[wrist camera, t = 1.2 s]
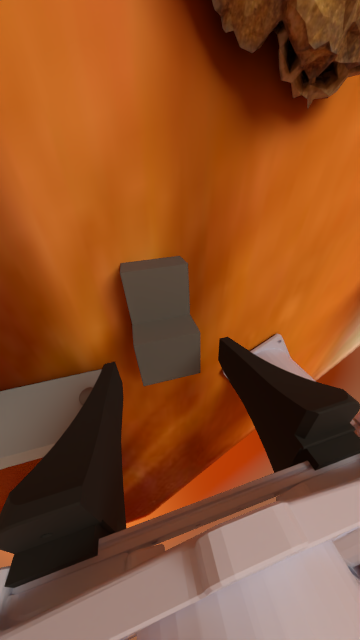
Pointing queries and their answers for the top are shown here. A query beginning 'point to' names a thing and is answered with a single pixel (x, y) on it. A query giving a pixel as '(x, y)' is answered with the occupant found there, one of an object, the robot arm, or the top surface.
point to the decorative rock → (301, 39)
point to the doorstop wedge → (161, 318)
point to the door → (40, 416)
